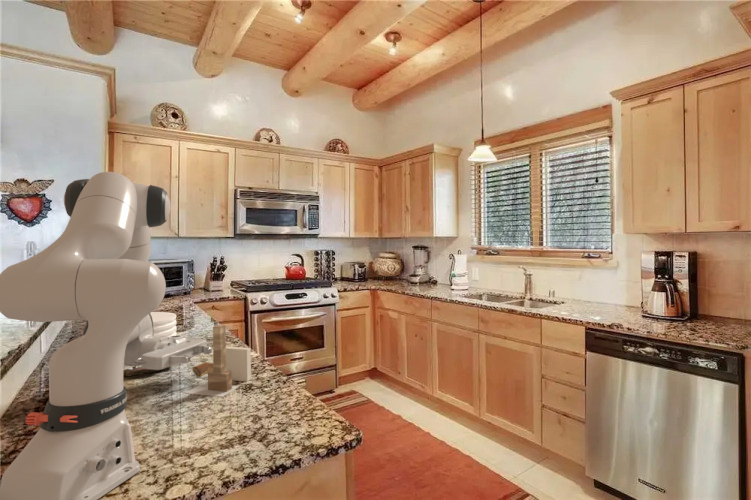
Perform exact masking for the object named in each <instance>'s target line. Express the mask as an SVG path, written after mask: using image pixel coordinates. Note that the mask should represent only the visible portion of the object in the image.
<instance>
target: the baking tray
mask: <svg viewBox="0 0 751 500" xmlns="http://www.w3.org/2000/svg"><path fill="white" fill-rule="evenodd" d="M175 365H176V364H174V365H172V366H175ZM172 366H169V367H167V368H164V369H163V370H165V371H166V370H168V369H169V368H171V367H172ZM154 372H155V373H156V372H159V370H152V369H146V368H143V367H142V365H139V366H134V368H133V366H129V365H124V373H123V376H124V377H131V376H136V374H137V375H142V374H141V373H143V374H148V373H149V374H150V373H154ZM130 375H131V376H130Z"/></svg>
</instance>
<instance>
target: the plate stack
mask: <svg viewBox="0 0 751 500" xmlns="http://www.w3.org/2000/svg"><path fill="white" fill-rule="evenodd" d="M150 314H151V316H152V320H153V330H154V332H153V336H155V337H171V336H178V334H177V331H178V330H177V314H176V313H174V312H168V311H153V312H151V313H150Z"/></svg>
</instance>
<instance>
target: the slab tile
mask: <svg viewBox="0 0 751 500" xmlns="http://www.w3.org/2000/svg"><path fill="white" fill-rule="evenodd" d="M251 351H252V349H251V347H239V346H226V371H232V381H236V382H246V383H247V382H249V381H251V380H252V363H251V362H252V361H251V360H252V358H251V357H252V353H251Z"/></svg>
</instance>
